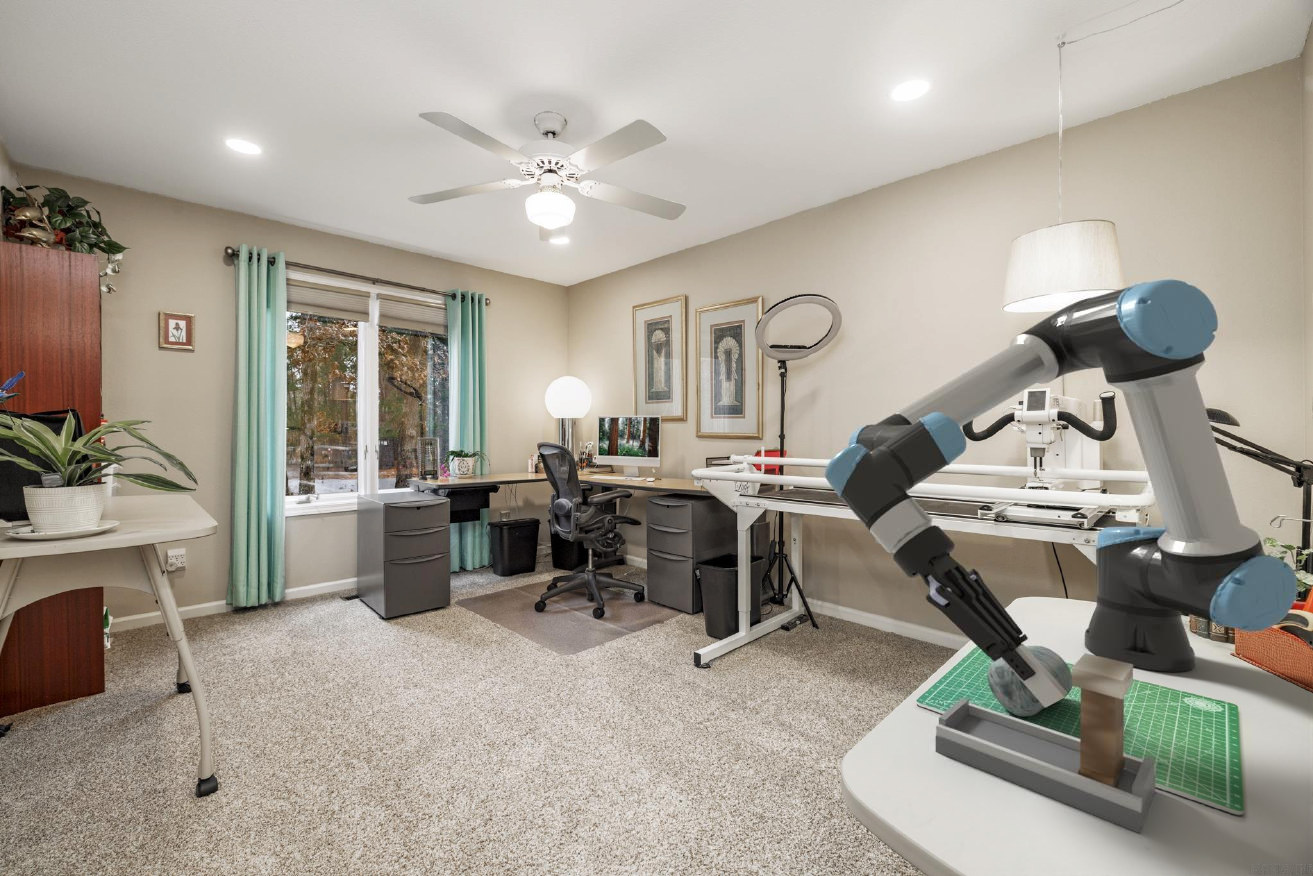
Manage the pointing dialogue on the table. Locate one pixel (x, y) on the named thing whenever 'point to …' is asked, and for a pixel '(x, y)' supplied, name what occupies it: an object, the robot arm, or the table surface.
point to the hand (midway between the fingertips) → (1056, 700)
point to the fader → (1102, 716)
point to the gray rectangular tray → (1044, 763)
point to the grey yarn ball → (1015, 691)
